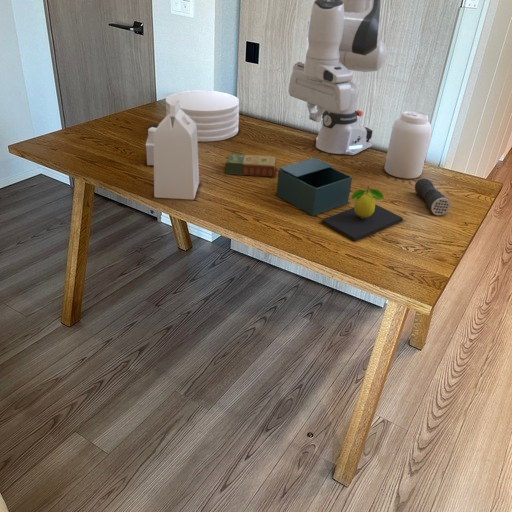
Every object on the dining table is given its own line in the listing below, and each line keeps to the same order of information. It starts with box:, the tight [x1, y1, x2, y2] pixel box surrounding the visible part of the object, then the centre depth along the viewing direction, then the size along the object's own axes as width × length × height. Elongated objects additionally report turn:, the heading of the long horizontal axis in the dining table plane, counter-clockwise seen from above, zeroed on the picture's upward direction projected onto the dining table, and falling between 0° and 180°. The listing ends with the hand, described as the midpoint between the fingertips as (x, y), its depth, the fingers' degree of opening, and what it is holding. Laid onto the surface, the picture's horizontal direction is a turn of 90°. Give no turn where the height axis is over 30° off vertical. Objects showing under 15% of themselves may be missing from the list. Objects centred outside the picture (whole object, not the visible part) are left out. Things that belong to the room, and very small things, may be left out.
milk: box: [153, 99, 200, 201], centre depth 142 cm, size 12×12×26 cm
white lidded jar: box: [383, 110, 433, 180], centre depth 164 cm, size 12×12×20 cm
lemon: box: [350, 185, 385, 218], centre depth 135 cm, size 7×6×10 cm
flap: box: [278, 157, 334, 177], centre depth 146 cm, size 8×14×1 cm, turn 129°
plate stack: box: [165, 89, 240, 142], centre depth 193 cm, size 28×28×12 cm
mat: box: [321, 203, 403, 242], centre depth 138 cm, size 20×12×1 cm, turn 129°
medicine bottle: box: [144, 124, 159, 166], centre depth 163 cm, size 7×7×12 cm
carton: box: [224, 152, 277, 178], centre depth 163 cm, size 8×16×4 cm, turn 85°
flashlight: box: [414, 178, 452, 216], centre depth 148 cm, size 15×5×5 cm, turn 5°
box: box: [276, 167, 353, 217], centre depth 146 cm, size 16×15×8 cm
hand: (314, 120), depth 137 cm, fingers closed
